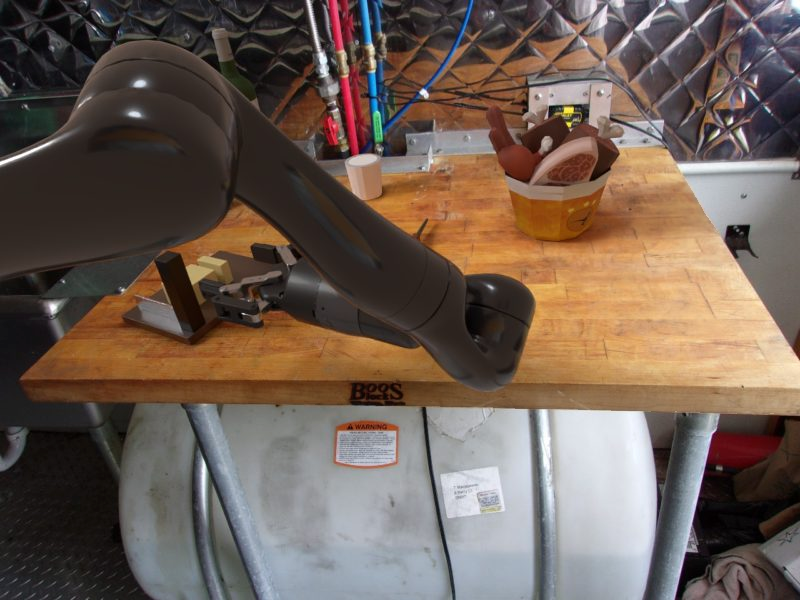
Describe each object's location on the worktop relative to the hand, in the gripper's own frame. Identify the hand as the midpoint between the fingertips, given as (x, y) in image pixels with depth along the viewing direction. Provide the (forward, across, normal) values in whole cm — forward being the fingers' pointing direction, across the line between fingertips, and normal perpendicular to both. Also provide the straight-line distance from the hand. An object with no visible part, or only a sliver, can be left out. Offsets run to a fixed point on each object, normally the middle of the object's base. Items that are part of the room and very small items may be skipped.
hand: (228, 268), depth 69 cm
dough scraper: (+16, 0, +11) cm, 20 cm away
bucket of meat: (-24, -45, +13) cm, 52 cm away
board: (+16, -8, +13) cm, 22 cm away
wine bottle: (+40, -46, +13) cm, 62 cm away
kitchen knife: (-6, -31, +13) cm, 34 cm away
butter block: (+16, -5, +11) cm, 21 cm away
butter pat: (+16, -10, +11) cm, 23 cm away
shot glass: (+13, -46, +13) cm, 50 cm away
